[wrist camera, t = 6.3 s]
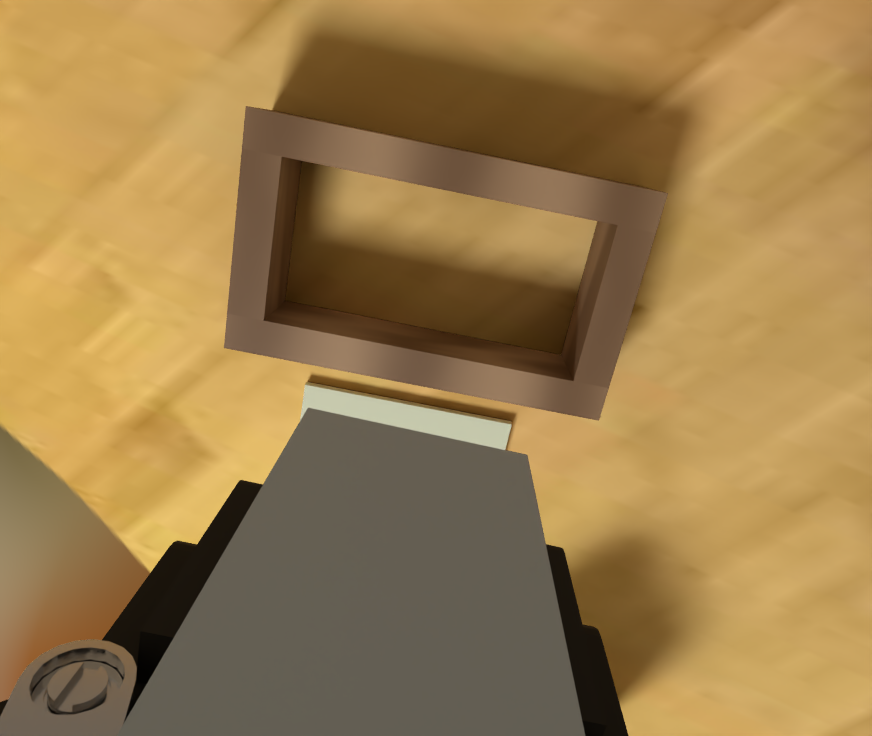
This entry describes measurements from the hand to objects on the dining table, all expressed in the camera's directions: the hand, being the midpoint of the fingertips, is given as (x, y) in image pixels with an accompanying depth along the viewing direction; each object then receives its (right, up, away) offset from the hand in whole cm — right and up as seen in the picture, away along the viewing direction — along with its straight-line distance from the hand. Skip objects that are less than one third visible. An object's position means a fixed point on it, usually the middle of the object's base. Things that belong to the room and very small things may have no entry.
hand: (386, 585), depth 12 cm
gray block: (0, +1, +2) cm, 2 cm away
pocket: (+1, +9, +17) cm, 19 cm away
